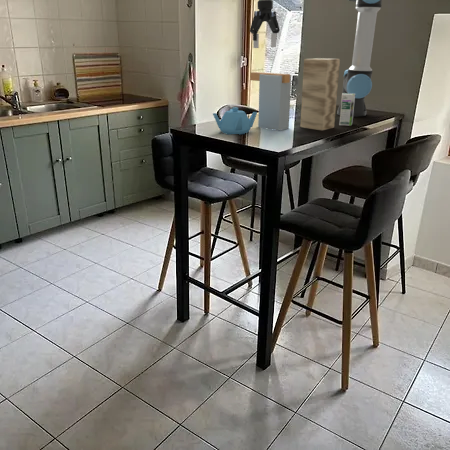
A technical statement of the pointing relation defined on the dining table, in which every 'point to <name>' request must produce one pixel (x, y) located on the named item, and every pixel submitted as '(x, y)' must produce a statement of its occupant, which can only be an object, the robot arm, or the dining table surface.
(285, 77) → the rod
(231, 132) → the teapot
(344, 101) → the syrup box
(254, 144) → the dining table surface
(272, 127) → the block
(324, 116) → the wooden block
